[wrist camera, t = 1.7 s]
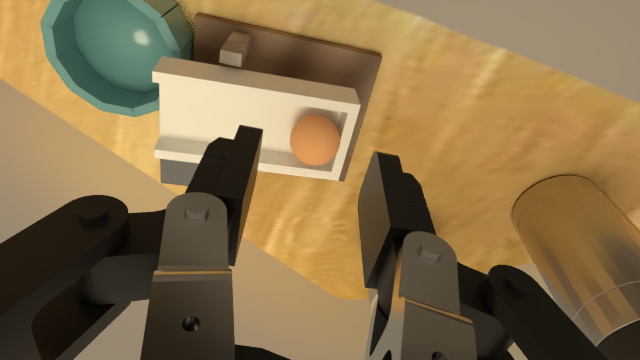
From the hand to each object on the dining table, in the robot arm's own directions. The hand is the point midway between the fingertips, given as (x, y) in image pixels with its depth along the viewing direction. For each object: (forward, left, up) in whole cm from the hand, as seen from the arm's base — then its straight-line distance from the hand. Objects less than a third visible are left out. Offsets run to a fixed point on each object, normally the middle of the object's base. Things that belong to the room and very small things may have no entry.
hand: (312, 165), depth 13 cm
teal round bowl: (+15, +7, -25) cm, 30 cm away
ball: (-1, +9, -17) cm, 20 cm away
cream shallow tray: (+4, +11, -20) cm, 23 cm away
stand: (+2, +10, -25) cm, 27 cm away
